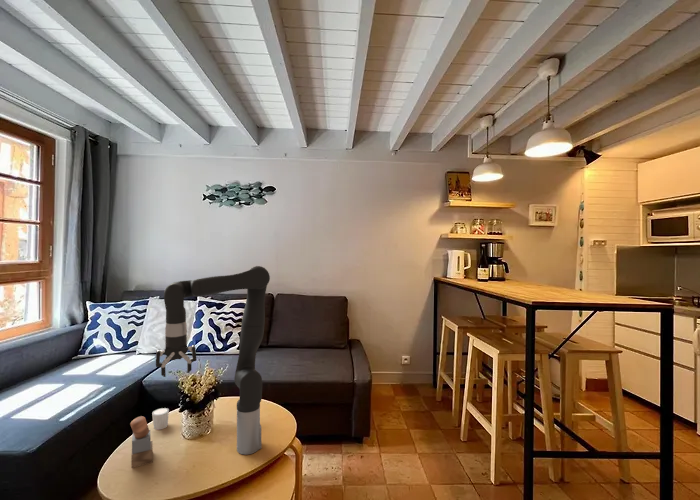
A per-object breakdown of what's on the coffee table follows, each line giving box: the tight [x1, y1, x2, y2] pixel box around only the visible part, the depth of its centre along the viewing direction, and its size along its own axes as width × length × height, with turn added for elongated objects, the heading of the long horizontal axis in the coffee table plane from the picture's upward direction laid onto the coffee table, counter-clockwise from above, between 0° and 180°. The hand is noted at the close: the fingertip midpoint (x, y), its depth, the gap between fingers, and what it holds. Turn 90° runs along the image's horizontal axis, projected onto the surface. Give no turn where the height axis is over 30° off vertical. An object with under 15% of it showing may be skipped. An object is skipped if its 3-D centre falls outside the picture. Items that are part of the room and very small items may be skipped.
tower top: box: [131, 429, 152, 454], centre depth 139 cm, size 6×6×5 cm
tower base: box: [130, 440, 154, 469], centre depth 140 cm, size 7×7×5 cm
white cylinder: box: [151, 407, 170, 431], centre depth 164 cm, size 7×7×7 cm
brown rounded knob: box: [129, 415, 150, 439], centre depth 138 cm, size 5×5×6 cm
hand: (176, 374), depth 141 cm, fingers open, 8 cm apart
